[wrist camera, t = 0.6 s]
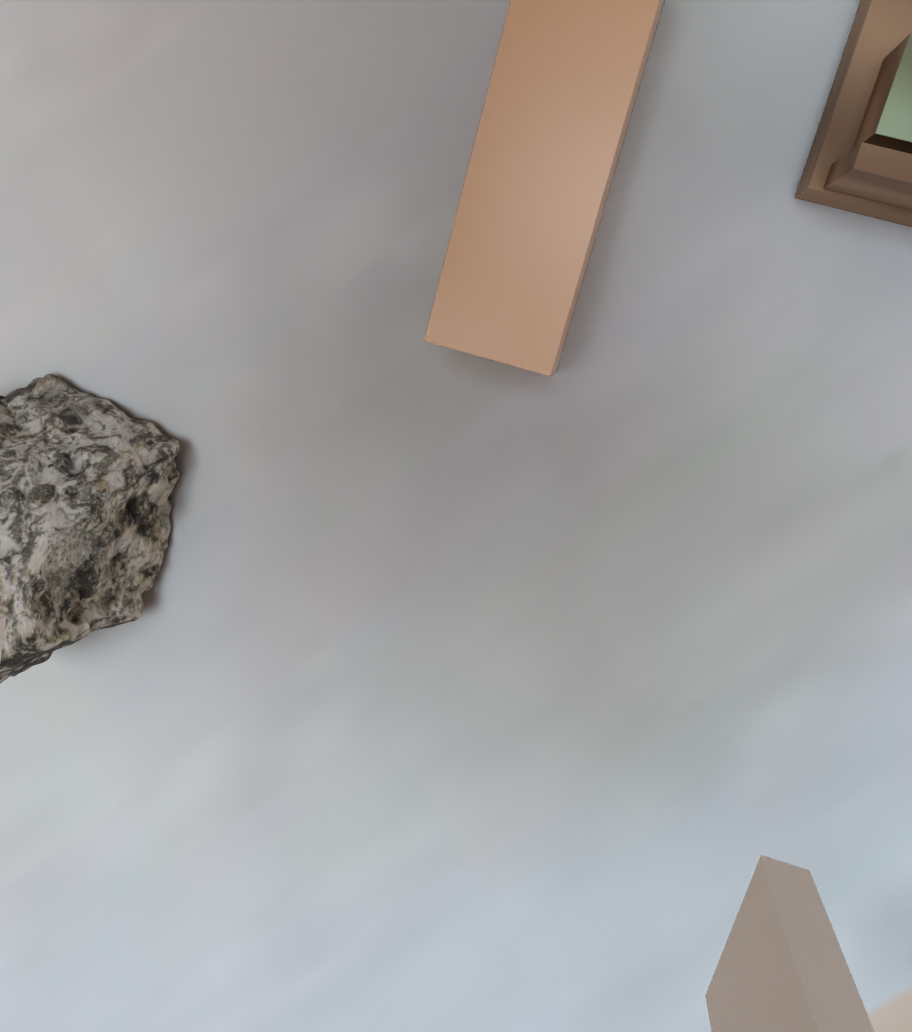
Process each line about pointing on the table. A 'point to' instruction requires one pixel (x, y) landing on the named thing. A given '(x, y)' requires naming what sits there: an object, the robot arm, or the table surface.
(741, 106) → the table surface
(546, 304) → the tan rectangular block
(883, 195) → the stand
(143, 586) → the rock
